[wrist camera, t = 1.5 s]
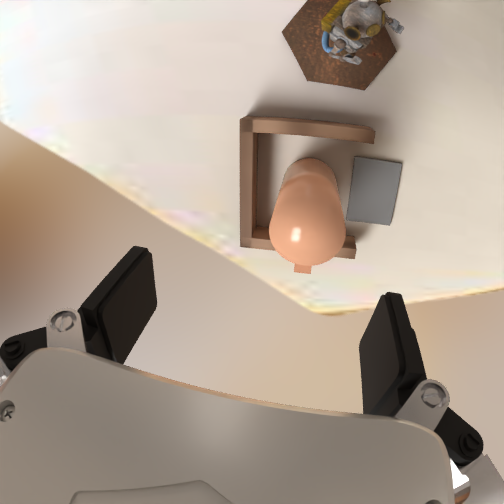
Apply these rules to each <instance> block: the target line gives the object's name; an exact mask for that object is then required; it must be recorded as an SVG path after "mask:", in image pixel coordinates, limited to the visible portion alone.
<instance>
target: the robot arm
mask: <svg viewBox="0 0 504 504" xmlns="http://www.w3.org/2000/svg"><path fill="white" fill-rule="evenodd" d="M156 307H157V297H156V289H155V280H154V271H153V260H152V254H151V253H150V252H149V251H148V249H147V248H143V247H139V246H133V247H132V248H131V249H130V250H129V251H128V253H127V254H126V255H125V256H124V257H123V258H122V259H121V260H120V261H119V262H118V263H117V265H116V266H115V267H114V268H113V269H112V270H111V271H110V272H109V274H108V275H107V276H106V277H105V278H104V279H103V280H102V282H101V283H100V284H99V285H98V286H97V287H96V288H95V290H94V291H93V292H92V293H91V294H90V296H89V297H88V298H87V299H86V300H85V301H84V303H83V304H82V305H81V307H80V308H79V309H78V311H76V310H74V309H72V308H62V309H59V310H57V311H55V312H53V313H52V314H51V315H50V316H49V318H48V320H47V324H46V327H43V328H39V329H36V330H33V331H29V332H26V333H22V334H19V335H15V336H13V337H10V338H8V339H7V340H5V341H4V343H3V344H2V346H1V348H0V504H503V503H504V481H503V479H502V477H501V476H500V474H499V472H498V471H497V469H496V468H495V466H494V464H493V463H492V461H491V460H490V458H489V457H488V455H487V454H486V455H485V456H484V455H483V454H482V451H483V440H482V438H481V436H480V434H479V433H478V432H477V431H476V430H475V429H474V428H473V427H471V426H470V425H469V424H468V423H467V422H465V421H464V420H463V419H462V418H461V417H460V416H458V415H457V414H456V413H455V412H454V411H452V410H451V409H450V408H449V407H448V405H449V402H450V397H449V393H448V391H447V389H446V388H445V386H443V385H442V384H441V383H440V382H438V381H436V380H432V379H428V380H427V378H426V373H425V369H424V365H423V361H422V357H421V353H420V349H419V345H418V342H417V338H416V334H415V331H414V329H412V328H411V325H410V321H409V318H408V314H407V311H406V308H405V304H404V301H403V298H402V295H401V294H398V293H392V292H387V293H386V294H385V295H382V296H381V297H380V299H379V302H378V304H377V306H376V309H375V311H374V313H373V315H372V317H371V320H370V322H369V324H368V326H367V328H366V330H365V332H364V334H363V337H362V339H361V341H360V345H359V353H360V365H361V378H362V394H363V414H357V413H347V412H338V411H328V410H320V409H311V408H304V407H297V406H291V405H284V404H278V403H272V402H266V401H261V400H256V399H251V398H245V397H241V396H236V395H231V394H227V393H222V392H218V391H213V390H209V389H205V388H201V387H197V386H193V385H190V384H186V383H182V382H178V381H175V380H171V379H168V378H164V377H161V376H158V375H154V374H151V373H148V372H144V371H141V370H138V369H135V368H131V367H129V366H126V365H123V364H124V362H125V360H126V358H127V356H128V355H129V353H130V352H131V350H132V348H133V346H134V344H135V343H136V341H137V340H138V338H139V336H140V335H141V333H142V331H143V330H144V328H145V326H146V324H147V323H148V321H149V320H150V318H151V316H152V314H153V313H154V311H155V310H156Z"/></svg>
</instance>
